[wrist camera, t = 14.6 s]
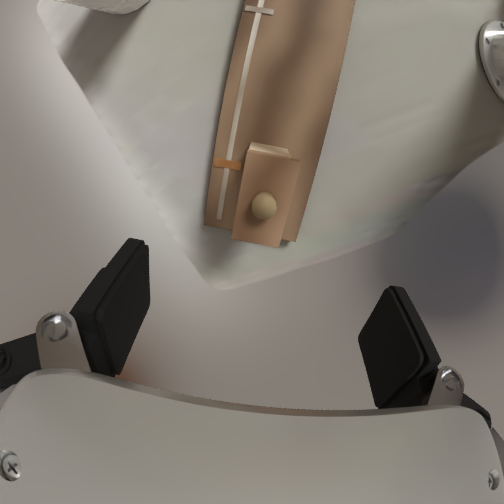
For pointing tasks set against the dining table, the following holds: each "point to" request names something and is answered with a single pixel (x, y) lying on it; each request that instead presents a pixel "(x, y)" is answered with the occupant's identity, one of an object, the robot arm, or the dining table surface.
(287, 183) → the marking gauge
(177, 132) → the dining table surface
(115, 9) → the white cup
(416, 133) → the dining table surface
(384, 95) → the dining table surface
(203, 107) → the dining table surface
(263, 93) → the marking board
